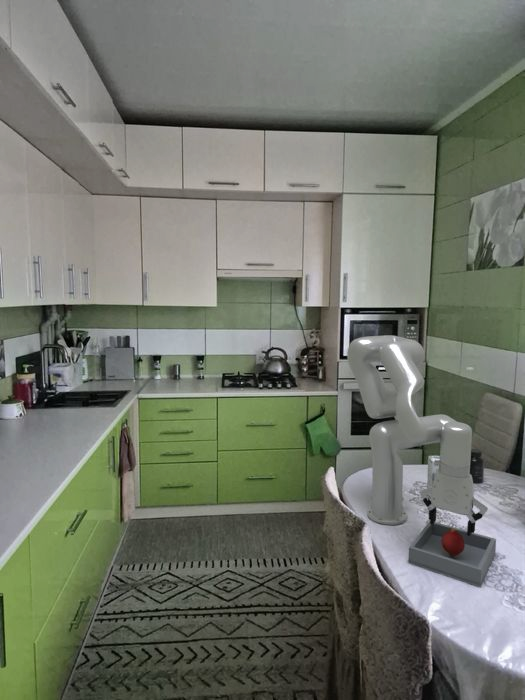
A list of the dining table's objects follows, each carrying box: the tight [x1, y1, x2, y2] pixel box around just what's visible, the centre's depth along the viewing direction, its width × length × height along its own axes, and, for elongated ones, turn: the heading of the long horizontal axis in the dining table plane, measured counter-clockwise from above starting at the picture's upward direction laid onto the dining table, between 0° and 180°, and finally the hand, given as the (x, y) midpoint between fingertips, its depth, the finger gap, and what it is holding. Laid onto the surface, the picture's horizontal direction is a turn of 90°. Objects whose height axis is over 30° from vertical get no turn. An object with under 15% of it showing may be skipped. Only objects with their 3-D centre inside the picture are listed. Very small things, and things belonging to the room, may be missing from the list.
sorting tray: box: [407, 520, 497, 588], centre depth 125 cm, size 18×18×4 cm
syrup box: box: [426, 455, 440, 499], centre depth 162 cm, size 6×6×14 cm
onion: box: [441, 527, 465, 556], centre depth 124 cm, size 6×6×8 cm
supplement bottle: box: [470, 448, 485, 484], centre depth 177 cm, size 7×7×12 cm
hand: (450, 528), depth 125 cm, fingers open, 9 cm apart
